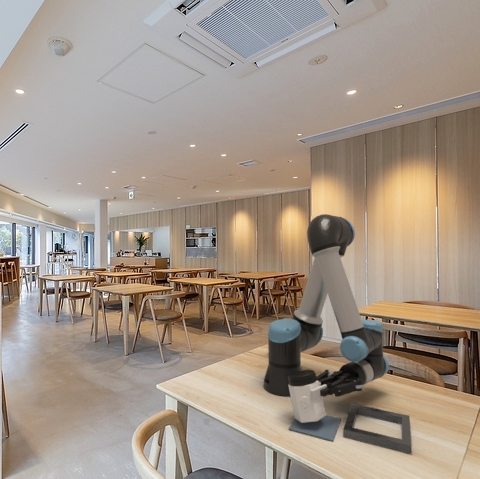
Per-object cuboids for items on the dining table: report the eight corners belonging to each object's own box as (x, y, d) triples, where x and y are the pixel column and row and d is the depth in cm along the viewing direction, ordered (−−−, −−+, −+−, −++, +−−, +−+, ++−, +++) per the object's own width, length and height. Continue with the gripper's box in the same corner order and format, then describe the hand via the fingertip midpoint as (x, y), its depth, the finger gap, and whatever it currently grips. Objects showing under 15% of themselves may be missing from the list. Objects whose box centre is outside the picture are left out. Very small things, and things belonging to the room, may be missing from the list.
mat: (288, 430, 88) (288, 428, 88) (300, 410, 98) (300, 409, 98) (333, 441, 82) (333, 440, 82) (340, 419, 93) (340, 418, 93)
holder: (343, 436, 84) (343, 429, 85) (351, 410, 99) (351, 403, 99) (411, 454, 77) (411, 445, 77) (409, 422, 92) (409, 415, 92)
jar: (293, 424, 88) (283, 378, 91) (296, 414, 95) (288, 372, 98) (325, 421, 85) (315, 374, 88) (326, 411, 93) (317, 368, 96)
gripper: (377, 393, 97) (330, 418, 82) (336, 378, 108) (289, 398, 94) (376, 368, 97) (330, 389, 83) (336, 356, 109) (289, 373, 94)
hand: (308, 394), depth 88 cm, fingers closed on jar, 1 cm apart
